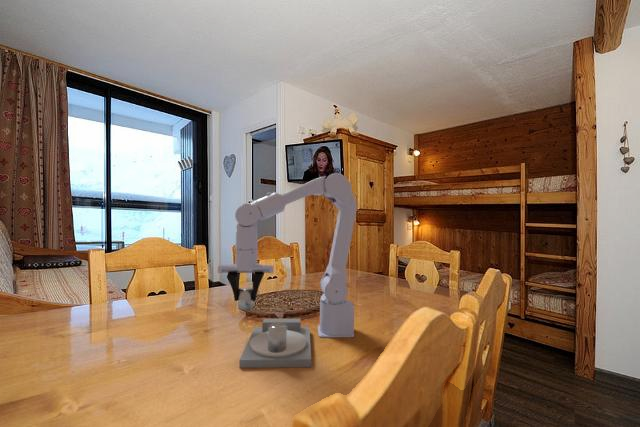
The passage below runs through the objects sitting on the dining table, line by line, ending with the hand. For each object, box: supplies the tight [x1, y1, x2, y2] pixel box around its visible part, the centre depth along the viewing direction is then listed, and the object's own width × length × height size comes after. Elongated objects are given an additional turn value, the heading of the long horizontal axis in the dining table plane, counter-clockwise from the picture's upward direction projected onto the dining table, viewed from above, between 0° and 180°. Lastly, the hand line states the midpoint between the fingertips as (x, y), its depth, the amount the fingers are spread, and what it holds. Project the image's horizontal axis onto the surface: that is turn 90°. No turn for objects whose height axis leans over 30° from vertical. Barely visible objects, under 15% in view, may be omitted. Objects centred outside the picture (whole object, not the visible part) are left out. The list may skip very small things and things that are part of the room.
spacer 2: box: [268, 323, 287, 353], centre depth 64 cm, size 4×4×5 cm
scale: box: [238, 318, 312, 369], centre depth 71 cm, size 15×19×4 cm
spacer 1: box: [237, 287, 254, 311], centre depth 78 cm, size 4×4×5 cm
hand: (245, 299), depth 78 cm, fingers closed on spacer 1, 4 cm apart
